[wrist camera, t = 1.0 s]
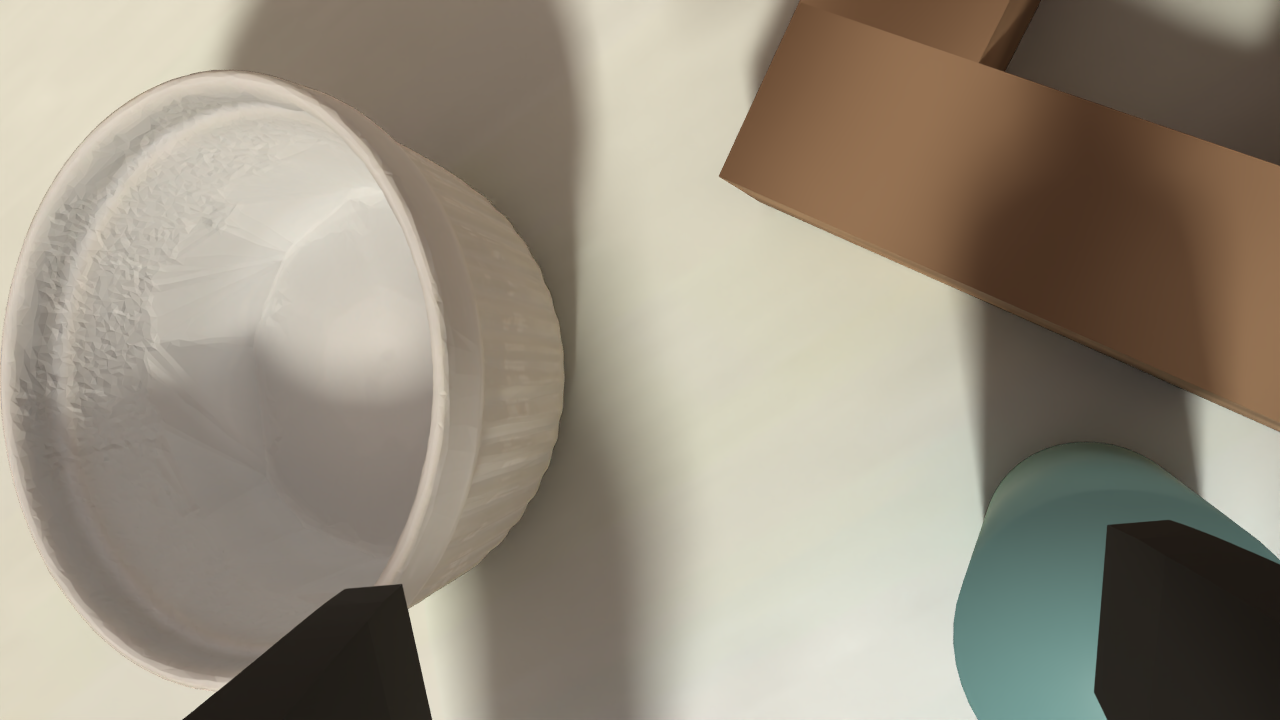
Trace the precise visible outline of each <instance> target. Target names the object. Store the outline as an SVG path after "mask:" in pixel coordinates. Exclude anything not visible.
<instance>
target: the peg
mask: <svg viewBox="0 0 1280 720" xmlns="http://www.w3.org/2000/svg"><path fill="white" fill-rule="evenodd" d="M1159 520H1172V521H1175V522H1178V523H1181V524H1184V525H1187V526H1189V527H1192V528H1195V529H1197V530H1200V531H1203V532H1205V533H1208V534H1210V535H1213V536H1215V537H1218V538H1220V539H1223V540H1225V541H1227V542H1230V543H1232V544H1234V545H1237V546H1239V547H1241V548H1244V549H1246V550H1248V551H1251V552H1253V553H1255V554H1258V555H1260V556H1262V557H1264V558H1267V559H1269V560H1271V561H1274V562H1276V563H1278V564H1280V560H1279V559H1278V558H1277V557H1276V556H1275V555H1274V554H1273V553H1272V552H1271V551H1270V550H1268V549H1267V548H1266V547H1265V546H1264V545H1263V544H1262V543H1261V542H1260V541H1259V540H1257V539H1256V538H1255V537H1253V536H1252V535H1251V534H1249V533H1248V532H1247V531H1245V530H1244V529H1243V528H1241V527H1240V526H1239V525H1237V524H1236V523H1235V522H1233V521H1232V520H1231V519H1229V518H1228V517H1227V516H1225V515H1224V514H1223V513H1221V512H1220V511H1219V510H1218V509H1216V508H1215V507H1214V506H1212V505H1211V504H1210V503H1208V502H1207V501H1206V500H1204V499H1203V498H1202V497H1200V496H1199V495H1198V494H1196V493H1195V492H1194V491H1192V490H1191V489H1190V488H1188V487H1187V486H1186V485H1184V484H1183V483H1182V482H1180V481H1179V480H1178V479H1176V478H1175V477H1174V476H1172V475H1171V474H1170V473H1168V472H1167V471H1166V470H1164V469H1163V468H1162V467H1160V466H1159V465H1157V464H1156V463H1155V462H1153V461H1151V460H1150V459H1148V458H1146V457H1144V456H1142V455H1141V454H1138V453H1136V452H1133V451H1131V450H1128V449H1126V448H1122V447H1119V446H1115V445H1111V444H1104V443H1098V442H1076V443H1067V444H1062V445H1057V446H1054V447H1051V448H1048V449H1045V450H1042V451H1040V452H1038V453H1036V454H1034V455H1032V456H1030V457H1028V458H1027V459H1025V460H1024V461H1022V462H1021V463H1019V464H1018V465H1017V466H1016V467H1015V468H1014V469H1012V470H1011V471H1010V472H1009V473H1008V475H1007V476H1006V477H1005V478H1004V479H1003V480H1002V482H1001V483H1000V485H999V486H998V488H997V489H996V491H995V493H994V495H993V497H992V499H991V501H990V504H989V507H988V510H987V513H986V516H985V519H984V522H983V525H982V528H981V531H980V534H979V537H978V540H977V543H976V545H975V548H974V551H973V554H972V557H971V560H970V563H969V566H968V569H967V572H966V575H965V578H964V581H963V584H962V587H961V591H960V594H959V597H958V601H957V604H956V611H955V617H954V635H953V644H954V652H955V660H956V666H957V670H958V673H959V677H960V681H961V685H962V687H963V689H964V692H965V694H966V697H967V699H968V702H969V704H970V706H971V708H972V710H973V712H974V713H975V715H976V717H977V719H978V720H1107V718H1106V716H1105V714H1104V712H1103V710H1102V708H1101V706H1100V704H1099V702H1098V700H1097V698H1096V696H1095V694H1094V683H1095V671H1096V658H1097V646H1098V633H1099V621H1100V608H1101V596H1102V583H1103V571H1104V558H1105V546H1106V533H1107V525H1111V524H1123V523H1135V522H1147V521H1159Z"/></svg>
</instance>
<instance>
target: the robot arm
mask: <svg viewBox="0 0 1280 720" xmlns="http://www.w3.org/2000/svg"><path fill="white" fill-rule="evenodd" d="M1094 694H1095V696H1096V698H1097V700H1098V702H1099V704H1100V706H1101V708H1102V710H1103V712H1104V714H1105V716H1106V718H1107V720H1280V564H1278V563H1276V562H1274V561H1271V560H1269V559H1267V558H1264V557H1262V556H1260V555H1258V554H1255V553H1253V552H1251V551H1248V550H1246V549H1244V548H1241V547H1239V546H1237V545H1234V544H1232V543H1230V542H1227V541H1225V540H1223V539H1220V538H1218V537H1215V536H1213V535H1210V534H1208V533H1205V532H1203V531H1200V530H1197V529H1195V528H1192V527H1189V526H1187V525H1184V524H1181V523H1178V522H1175V521H1172V520H1159V521H1147V522H1135V523H1123V524H1111V525H1107V533H1106V546H1105V558H1104V571H1103V583H1102V596H1101V608H1100V621H1099V633H1098V646H1097V658H1096V671H1095V683H1094ZM183 720H432V717H431V713H430V708H429V704H428V699H427V695H426V690H425V685H424V681H423V676H422V672H421V667H420V663H419V658H418V653H417V649H416V644H415V640H414V635H413V631H412V626H411V621H410V617H409V612H408V608H407V603H406V599H405V594H404V590H403V585H402V584H395V585H383V586H371V587H360V588H348V589H344V590H342V591H341V592H340V593H338V594H337V595H335V596H334V597H333V598H331V599H330V600H328V601H327V602H326V603H324V604H323V605H322V606H321V607H319V608H318V609H317V610H316V611H314V612H313V613H312V614H311V615H309V616H308V617H307V618H306V619H304V620H303V621H302V622H301V623H299V624H298V625H297V626H296V627H295V628H293V629H292V630H291V631H290V632H289V633H287V634H286V635H285V636H284V637H282V638H281V639H280V640H279V641H278V642H276V643H275V644H274V645H273V646H272V647H270V648H269V649H268V650H267V651H266V652H264V653H263V654H262V655H261V656H260V657H258V658H257V659H256V660H255V661H254V662H252V663H251V664H250V665H249V666H248V667H246V668H245V669H244V670H243V671H241V672H240V673H239V674H238V675H237V676H235V677H234V678H233V679H232V680H230V681H229V682H228V683H227V684H226V685H224V686H223V687H222V688H221V689H220V690H218V691H217V692H216V693H215V694H213V695H212V696H211V697H210V698H209V699H207V700H206V701H205V702H204V703H202V704H201V705H200V706H199V707H198V708H196V709H195V710H194V711H193V712H191V713H190V714H189V715H188V716H187V717H185V718H184V719H183Z"/></svg>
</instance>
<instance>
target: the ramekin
mask: <svg viewBox="0 0 1280 720" xmlns="http://www.w3.org/2000/svg"><path fill="white" fill-rule="evenodd" d="M563 358H564V351H563V346H562V341H561V334H560V326H559V321H558V318H557V316H556V313H555V310H554V306H553V301H552V297H551V294H550V292H549V290H548V288H547V286H546V285H545V282H544V280H543V276H542V273H541V269H540V267H539V266H538V264H537V263H536V261H535V260H534V259H533V257H532V255H531V253H530V251H529V249H528V247H527V245H526V243H525V242H524V240H523V239H522V238H521V237H520V236H519V235H518V234H517V233H516V231H515V230H514V228H513V226H512V225H511V223H510V222H509V221H508V220H507V218H506V217H505V216H504V215H503V214H501V213H500V212H498V211H497V210H496V209H495V208H494V207H493V206H492V204H491V203H490V202H489V201H488V200H487V199H486V198H485V197H484V196H482V195H481V194H480V193H478V192H477V191H475V190H474V189H472V188H471V187H470V186H468V185H467V184H466V183H465V182H464V181H463V180H461V179H460V178H458V177H456V176H455V175H453V174H452V173H450V172H449V171H447V170H445V169H444V168H442V167H441V166H439V165H437V164H436V163H434V162H432V161H431V160H429V159H427V158H425V157H423V156H422V155H420V154H418V153H416V152H414V151H413V150H411V149H409V148H407V147H405V146H403V145H401V144H399V143H397V142H396V141H394V140H393V139H392V138H391V137H390V136H389V135H388V134H387V133H386V132H385V131H384V130H383V129H381V128H380V127H379V126H378V125H377V124H375V123H374V122H373V121H372V120H370V119H369V118H367V117H366V116H365V115H363V114H362V113H361V112H359V111H358V110H356V109H355V108H353V107H351V106H349V105H348V104H346V103H344V102H342V101H340V100H338V99H336V98H334V97H332V96H330V95H328V94H326V93H323V92H320V91H317V90H314V89H311V88H308V87H305V86H302V85H299V84H296V83H293V82H290V81H287V80H284V79H281V78H278V77H274V76H271V75H266V74H262V73H257V72H250V71H240V70H211V71H204V72H198V73H193V74H190V75H187V76H182V77H179V78H176V79H172V80H170V81H167V82H165V83H162V84H160V85H158V86H156V87H154V88H151V89H149V90H147V91H145V92H143V93H142V94H140V95H138V96H136V97H135V98H133V99H131V100H130V101H128V102H127V103H125V104H124V105H122V106H121V107H120V108H118V109H117V110H116V111H114V112H113V113H112V114H111V115H109V116H108V117H107V118H106V119H105V120H103V121H102V122H101V123H100V124H99V125H98V126H97V127H96V128H95V129H94V130H93V131H92V132H91V133H90V134H89V135H88V136H87V137H86V138H85V139H84V141H83V142H82V143H81V144H80V145H79V146H78V147H77V148H76V150H75V151H74V152H73V154H72V155H71V156H70V158H69V159H68V160H67V161H66V163H65V164H64V166H63V167H62V169H61V170H60V171H59V173H58V174H57V176H56V178H55V179H54V181H53V183H52V184H51V186H50V187H49V189H48V191H47V192H46V194H45V196H44V198H43V200H42V202H41V204H40V206H39V208H38V210H37V212H36V214H35V216H34V218H33V220H32V222H31V225H30V227H29V230H28V232H27V235H26V238H25V240H24V243H23V246H22V249H21V252H20V255H19V258H18V262H17V265H16V268H15V272H14V275H13V279H12V283H11V287H10V292H9V297H8V302H7V307H6V313H5V319H4V327H3V336H2V347H1V362H0V390H1V410H2V421H3V430H4V437H5V443H6V450H7V456H8V461H9V465H10V470H11V474H12V478H13V482H14V486H15V489H16V493H17V496H18V499H19V503H20V506H21V509H22V512H23V514H24V517H25V520H26V522H27V525H28V527H29V530H30V533H31V535H32V537H33V540H34V542H35V544H36V546H37V549H38V551H39V553H40V555H41V557H42V558H43V560H44V562H45V564H46V566H47V568H48V570H49V572H50V574H51V575H52V577H53V578H54V580H55V582H56V583H57V585H58V586H59V588H60V589H61V591H62V592H63V593H64V595H65V596H66V597H67V599H68V600H69V602H70V603H71V604H72V606H73V607H74V608H75V610H76V611H77V612H78V613H79V614H80V616H81V617H82V618H83V619H84V620H85V621H86V622H87V623H88V625H89V626H90V627H91V628H92V629H93V631H95V632H96V633H97V634H98V635H99V636H100V637H101V638H102V639H103V640H104V641H105V642H107V643H108V644H109V645H110V646H111V647H113V648H114V649H115V650H116V651H118V652H119V653H120V654H121V655H122V656H124V657H125V658H127V659H128V660H130V661H131V662H133V663H135V664H136V665H138V666H139V667H141V668H143V669H145V670H147V671H149V672H151V673H153V674H155V675H157V676H159V677H161V678H163V679H166V680H169V681H172V682H175V683H178V684H180V685H183V686H186V687H190V688H195V689H202V690H207V691H213V692H217V691H218V690H220V689H221V688H222V687H223V686H224V685H226V684H227V683H228V682H229V681H230V680H232V679H233V678H234V677H235V676H237V675H238V674H239V673H240V672H241V671H243V670H244V669H245V668H246V667H248V666H249V665H250V664H251V663H252V662H254V661H255V660H256V659H257V658H258V657H260V656H261V655H262V654H263V653H264V652H266V651H267V650H268V649H269V648H270V647H272V646H273V645H274V644H275V643H276V642H278V641H279V640H280V639H281V638H282V637H284V636H285V635H286V634H287V633H289V632H290V631H291V630H292V629H293V628H295V627H296V626H297V625H298V624H299V623H301V622H302V621H303V620H304V619H306V618H307V617H308V616H309V615H311V614H312V613H313V612H314V611H316V610H317V609H318V608H319V607H321V606H322V605H323V604H324V603H326V602H327V601H328V600H330V599H331V598H333V597H334V596H335V595H337V594H338V593H340V592H341V591H342V590H344V589H348V588H360V587H371V586H383V585H395V584H402V585H403V590H404V594H405V599H406V603H407V608H408V609H409V608H411V607H412V606H414V605H416V604H418V603H419V602H421V601H422V600H424V599H425V598H427V597H428V596H430V595H431V594H433V593H434V592H436V591H438V590H439V589H441V588H443V587H444V586H446V585H447V584H449V583H451V582H452V581H454V580H455V579H457V578H459V577H460V576H462V575H463V574H465V573H466V572H468V571H469V570H471V569H472V568H473V567H475V566H476V565H477V564H479V563H480V562H481V561H482V560H483V559H484V558H485V557H486V555H487V554H488V552H490V551H491V550H493V549H494V548H495V547H497V546H498V545H499V544H500V543H501V542H502V541H503V540H504V539H505V537H506V536H507V534H508V532H509V530H510V529H511V527H513V526H514V525H515V524H517V523H518V521H519V520H520V519H521V518H522V516H523V514H524V512H525V509H526V507H527V504H528V502H529V501H530V500H531V499H532V498H533V497H534V496H535V495H536V493H537V491H538V488H539V485H540V482H541V479H542V476H543V475H544V473H545V472H546V470H547V469H548V467H549V464H550V461H551V456H552V451H553V447H554V445H555V443H556V441H557V439H558V430H559V420H560V417H561V414H562V410H563V390H564V381H565V375H564V365H563Z"/></svg>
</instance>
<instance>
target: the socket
mask: <svg viewBox="0 0 1280 720" xmlns="http://www.w3.org/2000/svg"><path fill="white" fill-rule="evenodd" d="M1040 1H1041V0H800V1H799V3H798V6H797V8H796V10H795V12H794V14H793V16H792V19H791V21H790V23H789V25H788V27H787V29H786V32H785V34H784V36H783V38H782V40H781V42H780V45H779V47H778V49H777V51H776V53H775V55H774V58H773V60H772V62H771V64H770V66H769V68H768V71H767V73H766V75H765V77H764V79H763V81H762V84H761V86H760V88H759V90H758V92H757V94H756V97H755V99H754V101H753V103H752V105H751V107H750V110H749V112H748V114H747V116H746V118H745V120H744V123H743V125H742V127H741V129H740V131H739V133H738V136H737V138H736V140H735V142H734V144H733V146H732V149H731V151H730V153H729V155H728V157H727V159H726V162H725V164H724V166H723V168H722V170H721V172H720V175H719V177H721V178H722V179H724V180H726V181H727V182H729V183H730V184H732V185H734V186H735V187H737V188H738V189H740V190H742V191H743V192H745V193H746V194H748V195H750V196H751V197H753V198H755V199H756V200H758V201H759V202H761V203H764V204H766V205H768V206H770V207H773V208H775V209H777V210H779V211H782V212H784V213H786V214H789V215H791V216H793V217H795V218H798V219H800V220H802V221H804V222H807V223H809V224H811V225H813V226H816V227H818V228H820V229H822V230H825V231H827V232H829V233H831V234H834V235H836V236H838V237H841V238H843V239H845V240H847V241H850V242H852V243H854V244H856V245H859V246H861V247H863V248H865V249H868V250H870V251H872V252H874V253H877V254H879V255H881V256H883V257H886V258H888V259H890V260H893V261H895V262H897V263H899V264H902V265H904V266H906V267H908V268H911V269H913V270H915V271H917V272H920V273H922V274H924V275H926V276H929V277H931V278H933V279H935V280H938V281H940V282H942V283H945V284H947V285H949V286H951V287H954V288H956V289H958V290H960V291H963V292H965V293H967V294H969V295H972V296H974V297H976V298H978V299H981V300H983V301H985V302H987V303H990V304H992V305H994V306H996V307H999V308H1001V309H1003V310H1006V311H1008V312H1010V313H1012V314H1015V315H1017V316H1019V317H1021V318H1024V319H1026V320H1028V321H1030V322H1033V323H1035V324H1037V325H1039V326H1042V327H1044V328H1046V329H1048V330H1051V331H1053V332H1055V333H1058V334H1060V335H1062V336H1064V337H1067V338H1069V339H1071V340H1073V341H1076V342H1078V343H1080V344H1082V345H1085V346H1087V347H1089V348H1091V349H1094V350H1096V351H1098V352H1100V353H1103V354H1105V355H1107V356H1110V357H1112V358H1114V359H1116V360H1119V361H1121V362H1123V363H1125V364H1128V365H1130V366H1132V367H1134V368H1137V369H1139V370H1141V371H1143V372H1146V373H1148V374H1150V375H1152V376H1155V377H1157V378H1159V379H1162V380H1164V381H1166V382H1168V383H1171V384H1173V385H1175V386H1177V387H1180V388H1182V389H1184V390H1186V391H1189V392H1191V393H1193V394H1195V395H1198V396H1200V397H1202V398H1204V399H1207V400H1209V401H1211V402H1214V403H1216V404H1218V405H1220V406H1223V407H1225V408H1227V409H1229V410H1232V411H1234V412H1236V413H1238V414H1241V415H1243V416H1245V417H1247V418H1250V419H1252V420H1254V421H1256V422H1259V423H1261V424H1263V425H1266V426H1268V427H1270V428H1272V429H1275V430H1277V431H1279V432H1280V166H1279V165H1276V164H1273V163H1270V162H1267V161H1264V160H1261V159H1258V158H1255V157H1252V156H1249V155H1246V154H1243V153H1240V152H1238V151H1235V150H1232V149H1229V148H1226V147H1223V146H1220V145H1217V144H1214V143H1211V142H1208V141H1205V140H1202V139H1199V138H1197V137H1194V136H1191V135H1188V134H1185V133H1182V132H1179V131H1176V130H1173V129H1170V128H1167V127H1164V126H1161V125H1158V124H1156V123H1153V122H1150V121H1147V120H1144V119H1141V118H1138V117H1135V116H1132V115H1129V114H1126V113H1123V112H1120V111H1117V110H1115V109H1112V108H1109V107H1106V106H1103V105H1100V104H1097V103H1094V102H1091V101H1088V100H1085V99H1082V98H1079V97H1076V96H1074V95H1071V94H1068V93H1065V92H1062V91H1059V90H1056V89H1053V88H1050V87H1047V86H1044V85H1041V84H1038V83H1035V82H1033V81H1030V80H1027V79H1024V78H1021V77H1018V76H1015V75H1012V74H1009V73H1006V72H1005V70H1006V68H1007V66H1008V64H1009V62H1010V60H1011V58H1012V56H1013V54H1014V52H1015V50H1016V49H1017V47H1018V45H1019V43H1020V41H1021V39H1022V37H1023V35H1024V33H1025V31H1026V29H1027V27H1028V25H1029V23H1030V21H1031V19H1032V17H1033V15H1034V13H1035V11H1036V9H1037V7H1038V5H1039V3H1040Z"/></svg>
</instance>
